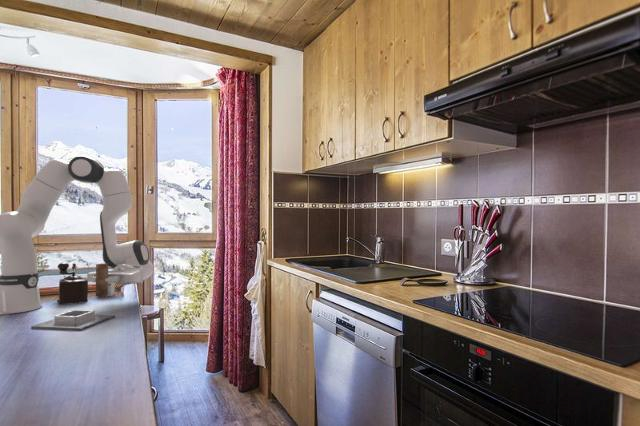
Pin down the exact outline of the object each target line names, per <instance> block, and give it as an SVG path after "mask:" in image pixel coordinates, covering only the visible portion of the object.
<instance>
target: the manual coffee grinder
mask: <svg viewBox="0 0 640 426" xmlns="http://www.w3.org/2000/svg"><path fill="white" fill-rule="evenodd" d="M69 267H70V264H69V263H67V262H64V261H63V262H61V263H59V264H57V269H59V274H60V275H63V278H61V279H59V281H58V299H56V302H57V303H58V305H69V304H70V303H71V304H79V302H81V303H86V302H88V300H89V299H88V295H89V293H88V292H89V288H88V287H89V282H88V281H87V277H82V276H80V275H76V272H77V269H76V268H77V264H76V263H74V262H73V263H72V267H71V269H72V271H71V272H69V271H68V269H69ZM65 275H67V276H65Z"/></svg>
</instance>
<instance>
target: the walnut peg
mask: <svg viewBox="0 0 640 426" xmlns="http://www.w3.org/2000/svg"><path fill="white" fill-rule="evenodd" d="M108 269H109V266H108V264H107V263H105V262H104V263H95V271H96V282H95V297H98V298H99V297H108V296H107V295H108V282H105V278H107V277H108Z"/></svg>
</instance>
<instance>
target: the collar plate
mask: <svg viewBox="0 0 640 426" xmlns="http://www.w3.org/2000/svg"><path fill="white" fill-rule="evenodd" d="M114 318H116V315H115V314H96V310H93V309H91V310H89V309H72V310H70V311H66V312H63V313H60V314H56V315H54V318H53V319H50V320H47V321H44V322H40V323H38V324H34V325H31V326H30V328H31V330H48V331H49V330H51V331H71V332H72V331H75V332H76V331H77V332H81V331H84V330H87V329H89V328H92V327H93V326H94V327H95V326H97V325H100V324H102V323H105V322H106V321H107V322H108V321H110V320H112V319H114Z"/></svg>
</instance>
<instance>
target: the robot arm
mask: <svg viewBox="0 0 640 426" xmlns="http://www.w3.org/2000/svg"><path fill="white" fill-rule="evenodd" d="M74 181H77V182H80V183H84V184H95V185H96V186H98V188H99V191H100V193H101V196H102V202H103V206H102V207H103V208H102V211H100V213H99V224H100V225H99V226H100V233H101V240H102V241H101V242H102V260H103V262H104V263H107V264H108V268H109V267H110V268H112V269H114V270H113V271H108V277H107V278H105V282H115V285H118V286H120V287H121V286H122V287H123V286H127V285H133V284H142V283H144V281H145V280H146V279H148V278H150V276H152V274H153V272H154V269H155V268H154V264H153V263H152V262H151V261H150V251H149V249H148V246H147V245H146V244H145V243H144V242H143V241H142V240H140V239H139V240H138V239H135V240H132V241H127V242H123V243H118V240H117V231H116V224H117V223H118V220H120V219H121V218H122V217H123V216H125V215H127V213H128V212H130V210H131V208H132V207H133V205H134V199H133V195H132V192H131V187H130V186H129V183H128V182H129V181H127V178H126V176H125V174H124V173H123V172H122V171H121V170H120V169H116V168H110V169H109V168H107V169H106V168H105V167H104V164H102V163H101V162H100V161H99V160H98V159H96V158H94V157H91V156H88V155H77V156H75V157H73V158H72V159H71V160H70V161H69V162H67V161H65V160H63V159H60V158H59V159H58V158H53V159H51V160H49V161H48V162H46V164H44V166H43V167H41V169H39V171H38V172H37V173H36V174H35V176H33V178H32V180H31V181H30V182H29V184H28V185H27V187H26V188H25V190H24V191H23V192H22V198H21V201H20V203H19V206H18V208H17V209H16V211H13V210H12V211H6V212H3V213H1V214H0V256H1V259H0V261H1V263H0V265H1V270H0V271H1V274H0V316H3V315H8V314H17V313H25V312H29V311H33V310H38V309H40V308H42V307H43V305H42V304H43V302H42V301H41V295H40V289H39V288H40V287H39V285H38V284H39V277H40V275H39V272H38V252H37V251H36V248H35V245H34V241H33V238H34V237H37V236H38V235H40V234H41V233H42V232H43V231H44V229H45V225H46V222H47V220H48V219H49V216H50V213H51V211H52V209H53V208H54V206H55V204H56V203H57V201H58V200H59V199H60V198H61V197H62V195H63V193H64V192H65V190H66V189H67V187H68V185H70V184H71V183H72V182H74ZM86 276H87V277H86V278H87V281H88V283H90V282H91V283H96V270H95V271H89V272H88V273H87V274H86Z"/></svg>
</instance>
